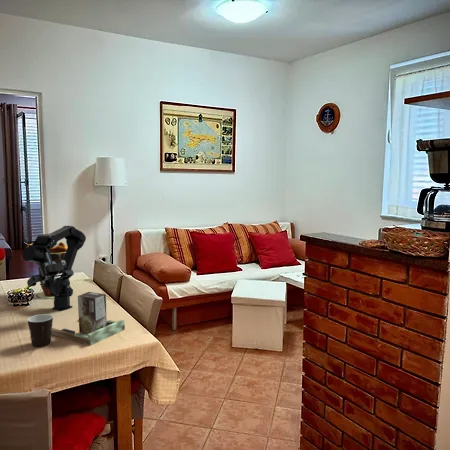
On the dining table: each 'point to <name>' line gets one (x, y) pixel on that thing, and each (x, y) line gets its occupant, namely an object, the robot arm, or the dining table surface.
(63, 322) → the dining table surface
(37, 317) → the coffee mug
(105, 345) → the dining table surface
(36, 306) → the dining table surface
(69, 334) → the rectangular frame
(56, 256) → the decorative vase
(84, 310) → the coffee box
